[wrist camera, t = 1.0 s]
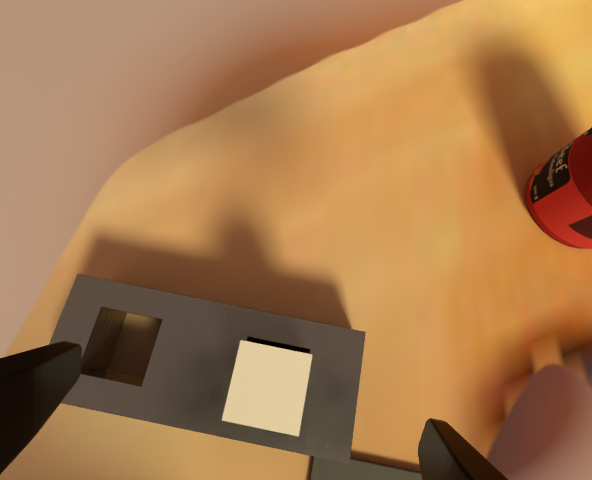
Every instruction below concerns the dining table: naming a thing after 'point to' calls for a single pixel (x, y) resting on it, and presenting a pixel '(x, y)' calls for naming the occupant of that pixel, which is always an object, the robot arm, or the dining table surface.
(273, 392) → the peg
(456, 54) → the dining table surface
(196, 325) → the grey block with holes
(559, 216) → the canned food
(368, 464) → the mat
